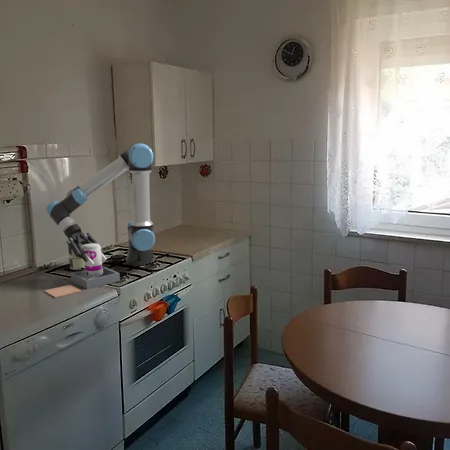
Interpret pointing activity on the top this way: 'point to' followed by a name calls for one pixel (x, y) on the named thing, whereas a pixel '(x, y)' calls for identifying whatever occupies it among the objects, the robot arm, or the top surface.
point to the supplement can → (93, 259)
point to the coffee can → (75, 259)
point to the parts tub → (108, 278)
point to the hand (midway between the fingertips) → (98, 263)
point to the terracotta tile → (62, 291)
